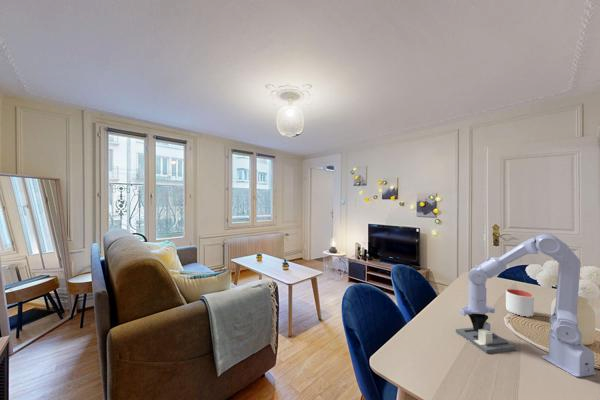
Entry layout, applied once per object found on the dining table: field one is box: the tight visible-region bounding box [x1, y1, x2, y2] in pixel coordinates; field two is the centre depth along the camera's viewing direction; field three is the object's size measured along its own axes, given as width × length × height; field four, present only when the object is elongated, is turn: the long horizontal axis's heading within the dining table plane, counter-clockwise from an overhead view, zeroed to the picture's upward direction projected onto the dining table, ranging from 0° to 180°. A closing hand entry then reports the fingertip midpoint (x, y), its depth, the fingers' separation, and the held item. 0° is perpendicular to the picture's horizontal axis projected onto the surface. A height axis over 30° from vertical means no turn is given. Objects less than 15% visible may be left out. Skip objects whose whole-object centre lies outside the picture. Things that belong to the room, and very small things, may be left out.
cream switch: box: [478, 329, 492, 344], centre depth 88 cm, size 3×3×4 cm
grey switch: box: [482, 321, 491, 331], centre depth 94 cm, size 3×3×4 cm
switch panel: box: [455, 327, 517, 354], centre depth 91 cm, size 14×13×2 cm
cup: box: [505, 288, 535, 318], centre depth 113 cm, size 10×10×10 cm
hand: (477, 331), depth 94 cm, fingers closed
